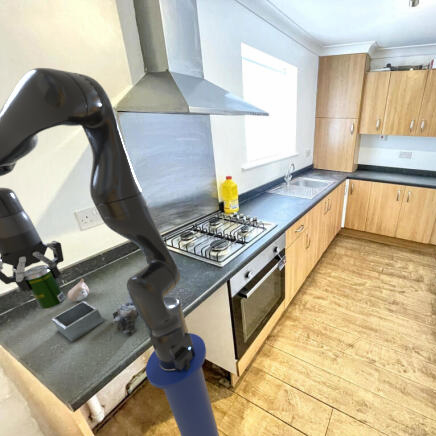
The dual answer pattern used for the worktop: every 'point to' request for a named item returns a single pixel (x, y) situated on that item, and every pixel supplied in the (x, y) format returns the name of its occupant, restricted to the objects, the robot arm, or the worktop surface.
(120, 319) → the foil
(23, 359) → the worktop surface
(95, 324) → the open square box
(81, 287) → the garlic bulb
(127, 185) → the robot arm
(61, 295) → the beer can
